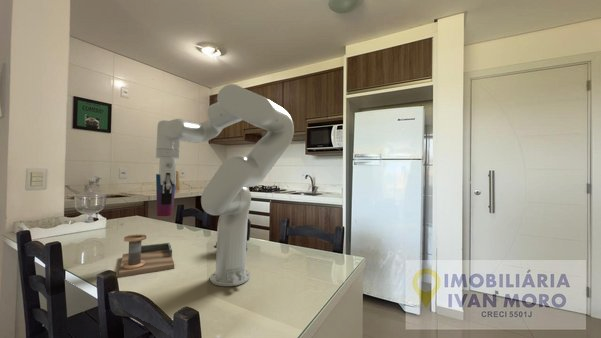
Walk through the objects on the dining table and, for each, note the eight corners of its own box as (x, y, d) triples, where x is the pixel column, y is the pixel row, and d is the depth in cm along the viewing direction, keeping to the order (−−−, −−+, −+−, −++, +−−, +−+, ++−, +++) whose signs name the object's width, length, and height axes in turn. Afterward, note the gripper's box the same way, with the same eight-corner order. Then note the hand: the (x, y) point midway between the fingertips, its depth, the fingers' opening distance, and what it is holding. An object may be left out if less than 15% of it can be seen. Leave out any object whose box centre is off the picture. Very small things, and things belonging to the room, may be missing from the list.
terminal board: (174, 268, 89) (175, 236, 89) (118, 277, 80) (120, 241, 80) (169, 251, 106) (170, 224, 106) (122, 257, 97) (124, 228, 97)
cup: (178, 214, 96) (180, 174, 96) (167, 217, 89) (169, 175, 89) (161, 212, 96) (163, 174, 96) (149, 216, 89) (151, 174, 89)
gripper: (182, 154, 87) (179, 206, 87) (176, 155, 102) (173, 200, 102) (157, 153, 83) (154, 207, 83) (154, 154, 98) (152, 200, 98)
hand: (165, 202), depth 92 cm, fingers closed on cup, 6 cm apart
